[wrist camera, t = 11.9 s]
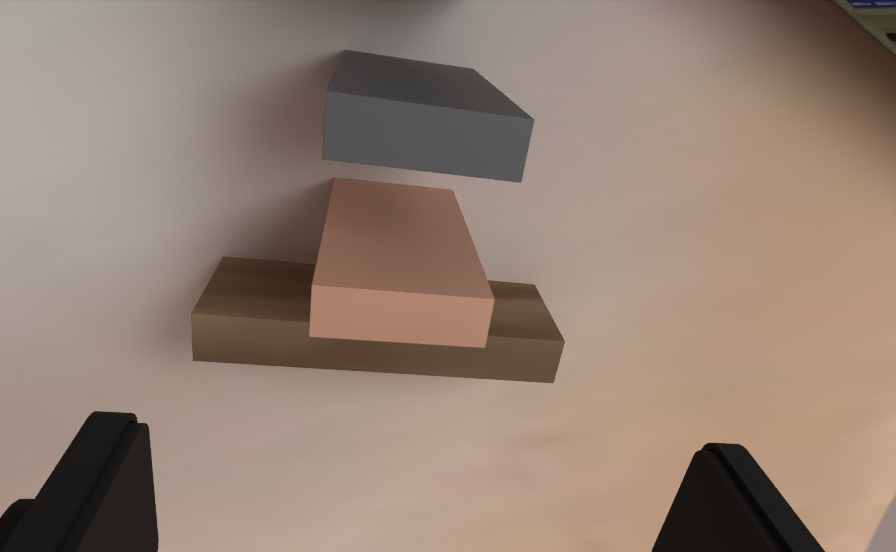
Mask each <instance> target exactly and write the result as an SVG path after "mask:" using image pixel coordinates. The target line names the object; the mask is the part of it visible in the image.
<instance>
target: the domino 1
mask: <svg viewBox="0 0 896 552" xmlns="http://www.w3.org/2000/svg"><path fill="white" fill-rule="evenodd" d="M533 123H534V119H533V118H532V117H530V116H529V115H528V114H527V113H526V112H524V111H523V110H522V109H521V108H520V107H518V106H517V105H516V104H515V103H514V102H512V101H511V100H510V99H509V98H508V97H506V96H505V95H504V94H503V93H502V92H500V91H499V90H498V89H497V88H496V87H494V86H493V85H492V84H491V83H490V82H488V81H487V80H486V79H485V78H484V77H482V76H481V75H480V74H479V73H478V72H476V71H475V70H474V69H469V68H463V67H456V66H449V65H443V64H436V63H429V62H422V61H416V60H409V59H402V58H396V57H389V56H382V55H375V54H369V53H362V52H355V51H349V50H345V52H344V54H343V56H342V58H341V61H340V63H339V65H338V67H337V69H336V71H335V73H334V76H333V78H332V80H331V82H330V84H329V86H328V89H327V91H326V104H325V120H324V135H323V151H322V159H326V160H335V161H343V162H351V163H360V164H368V165H377V166H385V167H394V168H402V169H411V170H419V171H427V172H436V173H444V174H453V175H461V176H470V177H478V178H486V179H495V180H503V181H512V182H520V183H521V180H522V176H523V171H524V166H525V161H526V157H527V152H528V147H529V142H530V137H531V133H532V128H533Z"/></svg>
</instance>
